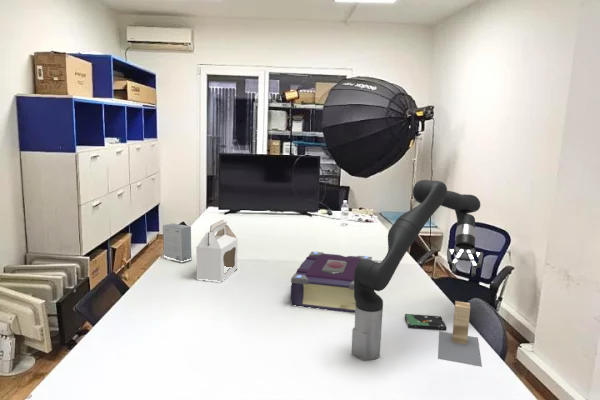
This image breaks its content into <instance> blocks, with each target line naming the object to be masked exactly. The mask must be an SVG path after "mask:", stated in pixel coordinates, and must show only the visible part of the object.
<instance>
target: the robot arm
mask: <svg viewBox="0 0 600 400" xmlns="http://www.w3.org/2000/svg"><path fill="white" fill-rule="evenodd" d="M412 196H413V199H414V200H415V201H416V202H417V203H419V204H418V205H417V206H415V207H414V208H412V209H410V210H408V211H405V212H404V213H403V214H401V215H400V216H399V217H398V218H397V219H396V220H395V222H394V223H393V224H392V225H391V227H390V229H389V230H388V234H387V245H388V246H387V253H386V255H385V256H384V258H383V259H382V261H380V262H378V261H375V260H373V259H372V260H368V259H362V260H360V261H359V262H358V264H357V265H356V268H355V272H354V298H355V301H356V308H355V313H354V327H353V328H352V329H351V332H352V335H351V351H350V352H351V353H350V354H351V355H353V356H355V357H356V358H358V359H360V360H362V361H363V362H365V361H373V360H377V359H378V358H380V356H381V354H380V353H381V346H382V345H381V344H382V343H381V342H382V341H381V340H382V327H383V312H384V300H383V298H382V297H381V296H380V295H379V294H378V293H377V292H380V291H383V290H384V289H386V288H387V286H388V284H389V283H390V281H391V280H392V278H393V276H394V274H395V272H396V270H397V268H398V267H399V265H400V263H401V261H402V259H403V258H404V256H405V255H406V253H407V252H408V250H409V249H410V248H411V246H412V245H413V243H414V242H415V240H416V239H417V237H418V236H419V234H420V232H421V231H422V230H423V229H424V227H425V225H426V223H428V221H429V219H430V218H431V217H432V216H433V215H434V214H435V212H436V211H437V210H438V209H439V208H440V207H444V208H446V209H451V210H453V211H454V212H455V216H456V230H455V236H454V237H455V241H454V242H455V245H454V248H453V249H451V248H446V260H447V264H448V265H451V273H452V274H453V275H456V274H457V264H458V263H459V262H460V261H465V262H469V264H470V265H471V277H474V276H476V273H477V271H476V270H477V268H478V269H479V268H481V267H482V264H483V263H482V262H483V257H484V252H483V251H480V252H478V251H477V250H476V219H475V216H474V215H473V214H471V213H475V212H478V211H479V210H480V208H481V201H480V199H479V198H478V197H477V196H476V195H473V194H463V193H462V194H461V193H459V192H456V191H452V190H448V187H447V185H446V183H444V182H442V181H440V180H431V179H429V180H428V179H423V180H422V179H420V180H419V181H417V182H416V183H415V184H414V186H413V189H412ZM453 254H454V255H455V257H454V259H453V260H452V255H453ZM475 256H476V257H477V259H478V262H476V260H475V258H474V257H475Z"/></svg>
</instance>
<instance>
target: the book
mask: <svg viewBox="0 0 600 400" xmlns="http://www.w3.org/2000/svg"><path fill="white" fill-rule="evenodd" d="M362 259H368V260H372V261H373V256H366V255H357V256H356V255H348V256H345V255H341V254H332V253H324V252H323V251H321V252H320V251H311V252H310V253H309V254H308V256H306V257H305V260H304V261H303V262H302V263H301V264H300V266H299V267H298V268H297V270H296V272H295V273H294V274H293V276H292V277H291V279H290V284H291V287H290V301H291V302H290V303H291V306H293V305H296V306H295V307H299V306H304V307H303V308H308V307H311V308H310V309H316V308H319V309H318V310H324V309H327V310H326V311H333V310H334V312H341V311H342V312H343V313H352V314H355V308H356V301H355V298H354V272H355V268H356V265H357V264H358V262H359V261H360V260H362Z"/></svg>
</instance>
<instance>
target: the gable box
mask: <svg viewBox="0 0 600 400" xmlns="http://www.w3.org/2000/svg"><path fill="white" fill-rule="evenodd" d="M227 224H228V221H225V219H221V220H220V221H217V222H216V223H213V224H211V225H210V228H209V231H207V232H206V233H204V236H203V237H202V239H201V240H200V241H199V243H198V244H197V245H196V279H197V278H198V279H208V280H217V281H222V280H223V279H224V278H226V277H227V276H228V275H229V274H231V273H232V272H233V271H234V270H235V269H237V270H238V238H237V236H236V235H235V234H234V232H233V231H232V229H231V228H230V226H229V225H227ZM215 233H216V234H215ZM224 266H226V267H232V268H229V269H228V270H227V272H226V273H224ZM231 275H232V274H231ZM226 279H227V278H226Z"/></svg>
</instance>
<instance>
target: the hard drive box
mask: <svg viewBox="0 0 600 400" xmlns="http://www.w3.org/2000/svg"><path fill="white" fill-rule="evenodd" d="M162 236H163V237H162V238H163V239H162V243H163V244H162V245H163V256H164V255H165V256H167V257H170V258H174V259H176V260H179V261H184V260H187V259H190V258H191V259H192V227H191V225H184V224H179V223H168V224H164V225H162Z"/></svg>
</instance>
